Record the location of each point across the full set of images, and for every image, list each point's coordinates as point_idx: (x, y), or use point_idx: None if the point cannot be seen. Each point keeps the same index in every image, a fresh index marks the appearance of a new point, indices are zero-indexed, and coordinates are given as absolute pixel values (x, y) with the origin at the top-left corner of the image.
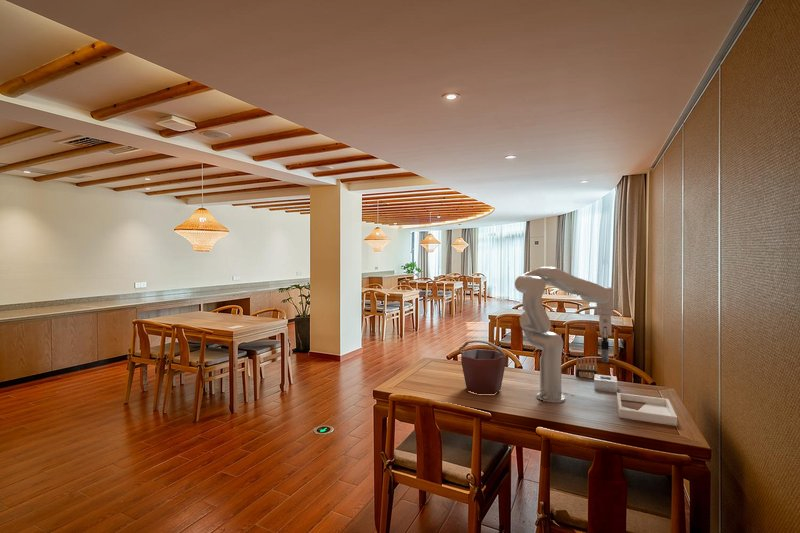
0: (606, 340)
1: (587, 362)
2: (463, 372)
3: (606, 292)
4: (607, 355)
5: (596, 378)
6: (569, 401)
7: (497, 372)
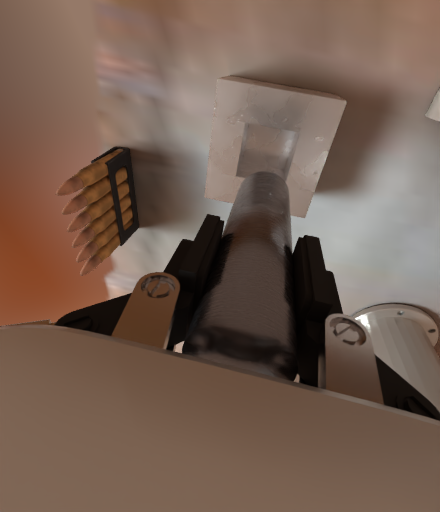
0: (377, 361)
1: (90, 221)
2: None
3: None
4: (286, 206)
5: None
6: (419, 294)
7: None
